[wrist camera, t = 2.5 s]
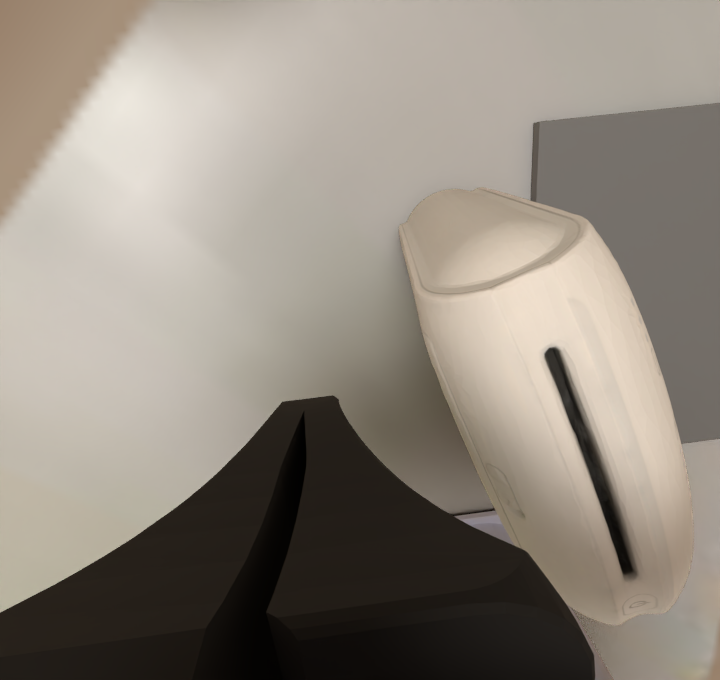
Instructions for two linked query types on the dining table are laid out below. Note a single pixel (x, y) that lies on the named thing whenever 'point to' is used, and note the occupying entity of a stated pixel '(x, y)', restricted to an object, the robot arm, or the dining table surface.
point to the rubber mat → (652, 232)
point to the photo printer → (555, 396)
